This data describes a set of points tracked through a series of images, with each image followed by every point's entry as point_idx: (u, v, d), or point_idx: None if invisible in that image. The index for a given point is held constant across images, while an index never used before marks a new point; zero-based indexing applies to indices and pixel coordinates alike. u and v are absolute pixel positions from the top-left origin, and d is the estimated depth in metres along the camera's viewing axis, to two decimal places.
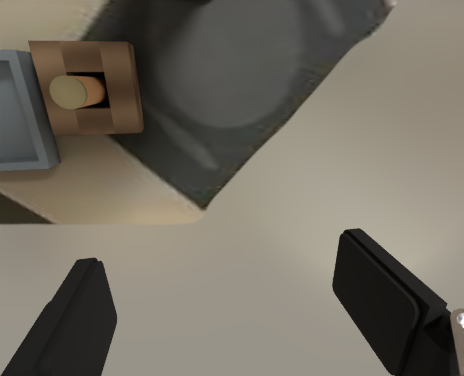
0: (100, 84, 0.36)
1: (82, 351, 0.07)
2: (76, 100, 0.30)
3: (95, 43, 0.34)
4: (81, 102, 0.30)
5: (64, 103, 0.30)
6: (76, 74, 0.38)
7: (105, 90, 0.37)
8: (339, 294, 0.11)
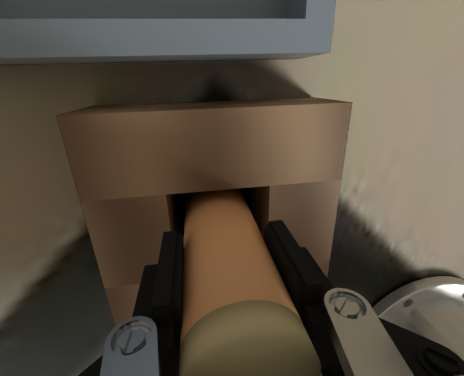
0: None
1: None
2: None
3: (326, 254, 0.14)
4: None
5: None
6: None
7: None
8: None
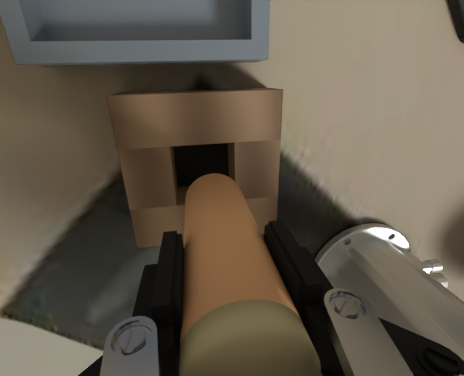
0: None
1: None
2: None
3: (275, 191, 0.22)
4: None
5: None
6: None
7: None
8: None
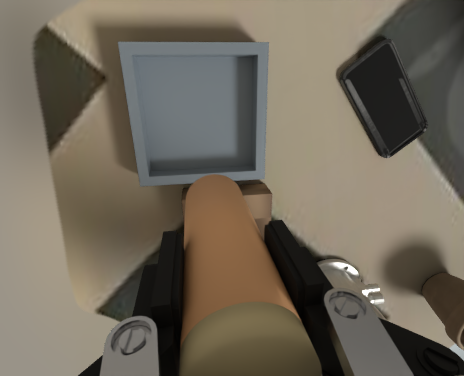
0: None
1: None
2: None
3: None
4: None
5: None
6: None
7: None
8: None
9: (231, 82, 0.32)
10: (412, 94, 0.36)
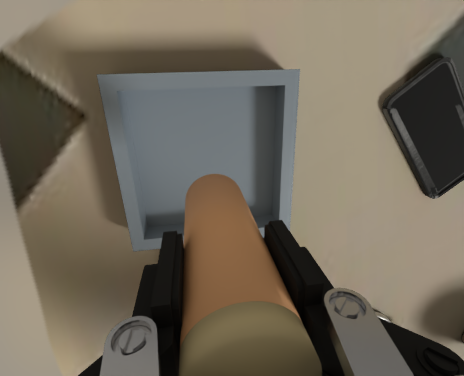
0: None
1: None
2: None
3: None
4: None
5: None
6: None
7: None
8: None
9: (248, 117, 0.25)
10: None
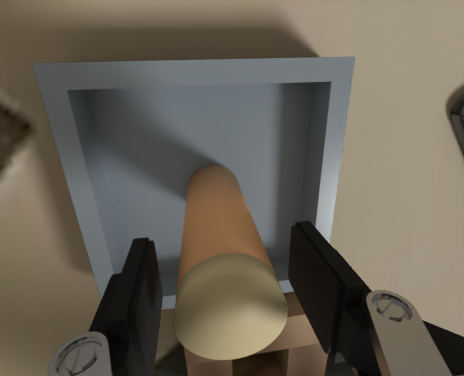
0: None
1: (148, 314, 0.08)
2: (207, 341, 0.08)
3: (321, 375, 0.24)
4: (201, 353, 0.09)
5: (194, 311, 0.08)
6: None
7: None
8: (292, 283, 0.11)
9: (269, 128, 0.17)
10: None
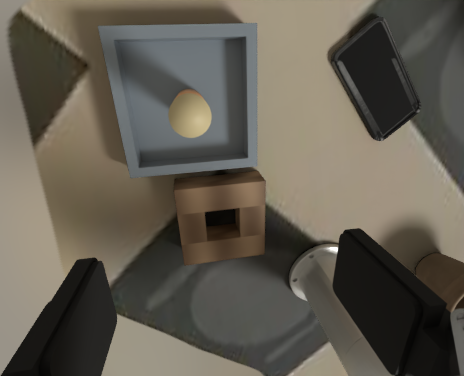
0: None
1: (82, 351, 0.07)
2: (181, 126, 0.22)
3: (263, 231, 0.38)
4: (179, 132, 0.22)
5: (175, 110, 0.22)
6: None
7: None
8: (339, 294, 0.11)
9: (220, 67, 0.31)
10: (405, 74, 0.35)
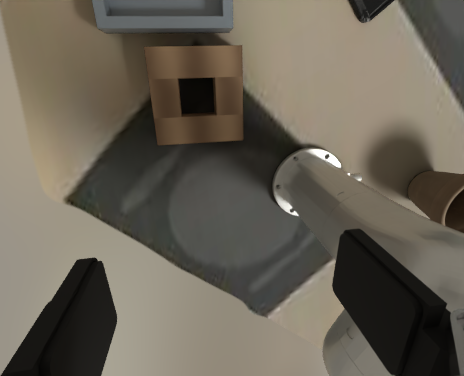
0: None
1: (82, 351, 0.07)
2: None
3: (241, 111, 0.36)
4: None
5: None
6: None
7: None
8: (339, 294, 0.11)
9: None
10: None
